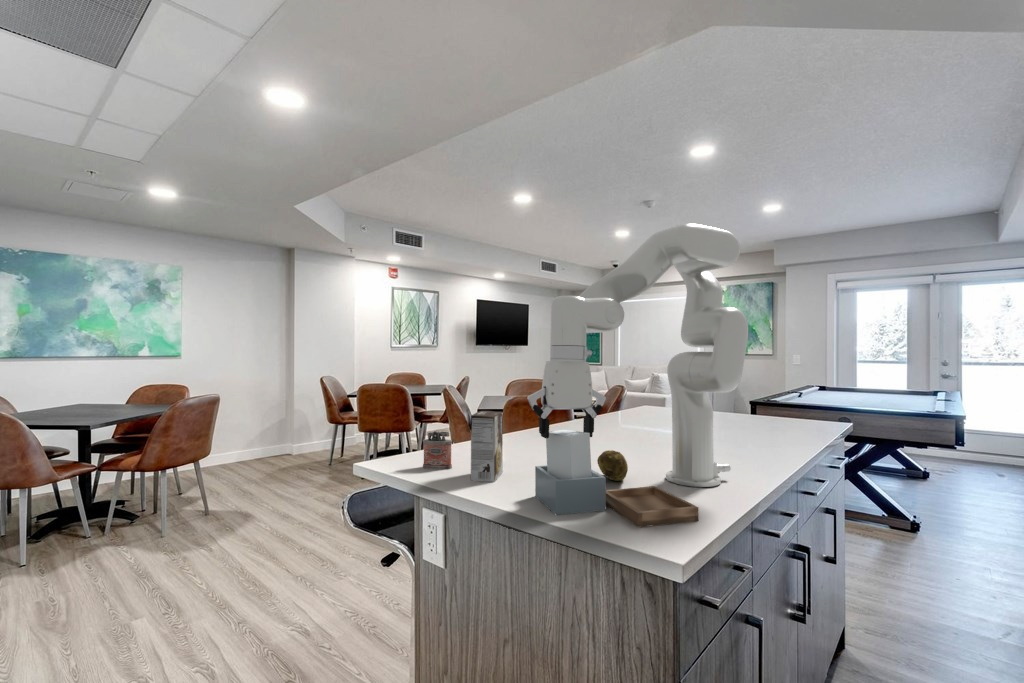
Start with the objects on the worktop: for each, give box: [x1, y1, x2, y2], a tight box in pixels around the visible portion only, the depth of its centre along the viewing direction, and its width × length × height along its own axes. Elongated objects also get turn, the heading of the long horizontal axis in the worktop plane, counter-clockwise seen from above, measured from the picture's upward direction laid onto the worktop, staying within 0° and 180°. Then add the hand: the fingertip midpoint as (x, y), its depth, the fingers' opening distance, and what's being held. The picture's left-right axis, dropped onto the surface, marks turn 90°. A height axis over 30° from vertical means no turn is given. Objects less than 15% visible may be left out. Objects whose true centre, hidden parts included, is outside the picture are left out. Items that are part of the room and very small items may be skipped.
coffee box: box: [470, 410, 504, 483], centre depth 120 cm, size 9×6×16 cm
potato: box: [596, 449, 629, 482], centre depth 116 cm, size 8×13×8 cm, turn 153°
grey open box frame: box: [534, 464, 607, 516], centre depth 99 cm, size 11×13×6 cm
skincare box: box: [545, 429, 592, 480], centre depth 99 cm, size 8×6×15 cm
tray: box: [606, 485, 700, 528], centre depth 94 cm, size 13×15×2 cm
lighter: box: [422, 430, 453, 470], centre depth 129 cm, size 8×3×10 cm, turn 81°
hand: (566, 436), depth 99 cm, fingers open, 9 cm apart
